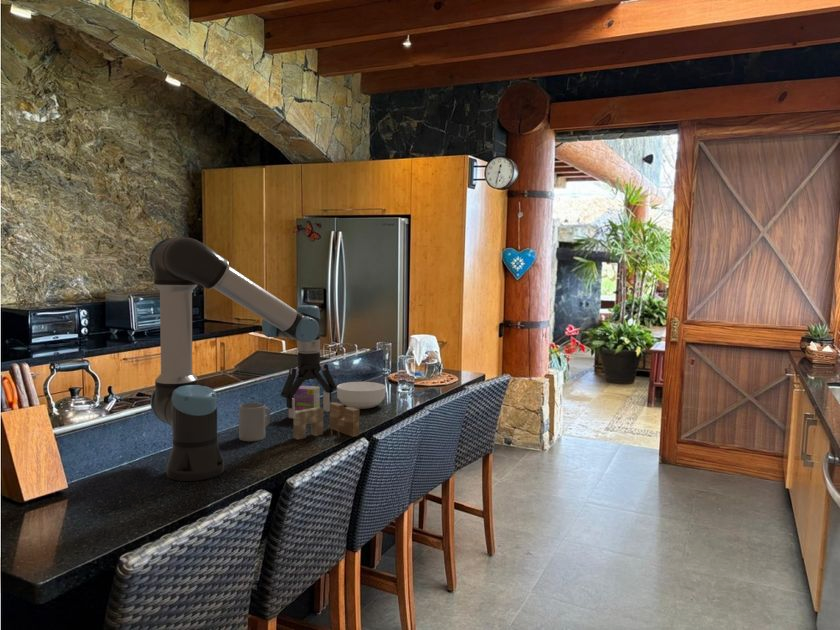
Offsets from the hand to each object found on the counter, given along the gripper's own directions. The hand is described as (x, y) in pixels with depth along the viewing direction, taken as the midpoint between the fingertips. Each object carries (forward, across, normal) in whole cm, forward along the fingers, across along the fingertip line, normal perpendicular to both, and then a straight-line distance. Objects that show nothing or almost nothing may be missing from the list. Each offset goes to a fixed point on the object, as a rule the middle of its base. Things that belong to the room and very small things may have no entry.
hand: (309, 414), depth 216 cm
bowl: (+8, +40, +24) cm, 47 cm away
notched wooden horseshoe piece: (+7, 0, 0) cm, 7 cm away
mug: (+7, -14, +10) cm, 19 cm away
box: (+8, +12, +22) cm, 26 cm away
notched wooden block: (+8, +12, -3) cm, 15 cm away
